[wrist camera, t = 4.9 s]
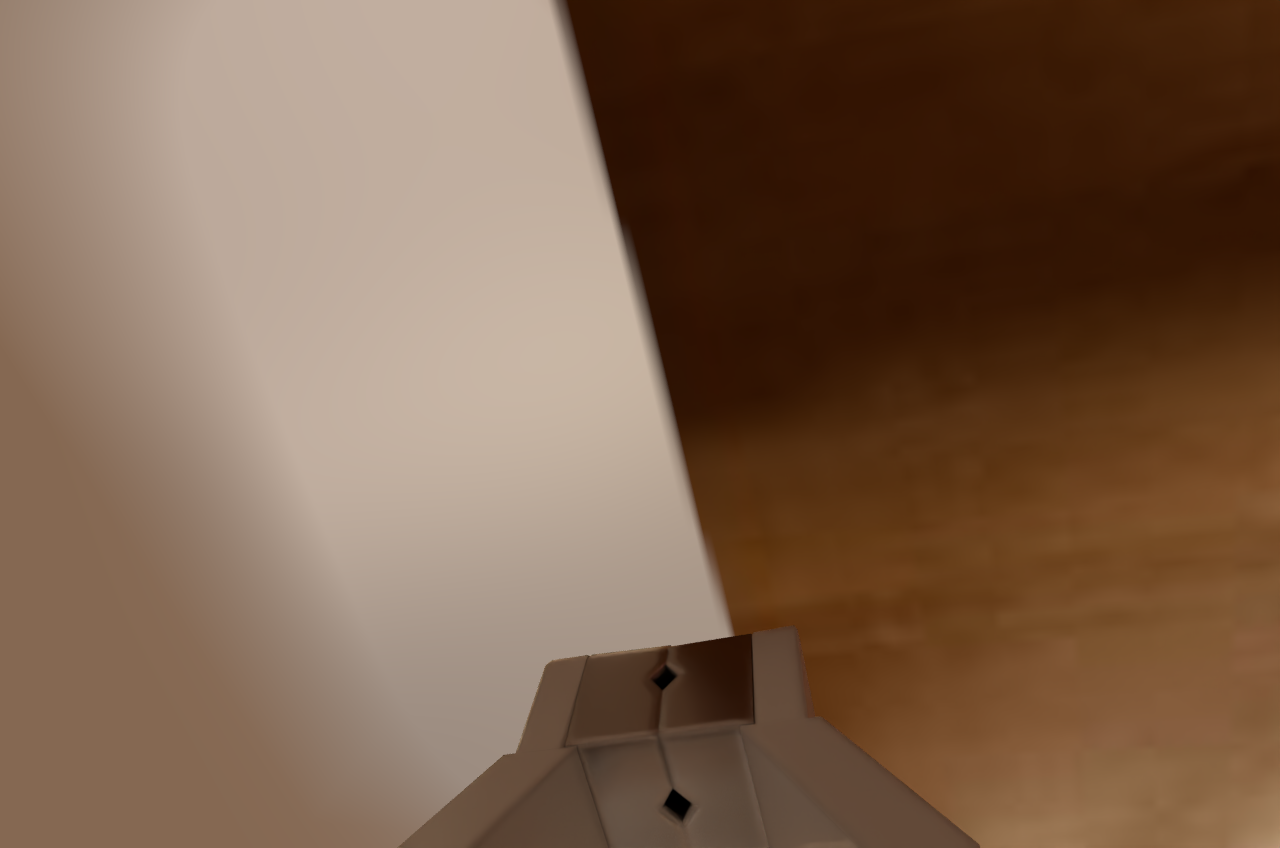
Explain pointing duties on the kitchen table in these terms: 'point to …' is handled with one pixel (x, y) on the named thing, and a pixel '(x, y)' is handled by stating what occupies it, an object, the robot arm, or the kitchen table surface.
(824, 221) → the kitchen table surface
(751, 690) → the robot arm
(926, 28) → the kitchen table surface
